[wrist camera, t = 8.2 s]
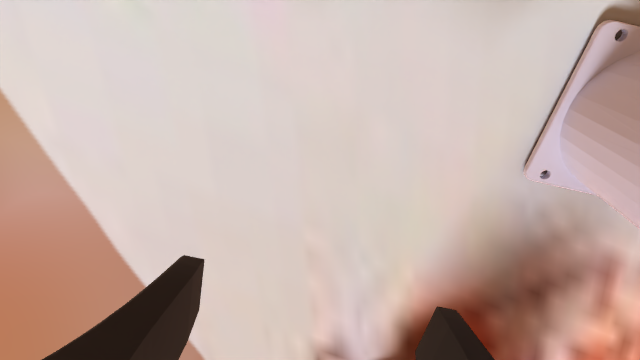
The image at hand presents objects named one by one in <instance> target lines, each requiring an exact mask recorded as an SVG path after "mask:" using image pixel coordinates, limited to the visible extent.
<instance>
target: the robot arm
mask: <svg viewBox="0 0 640 360" xmlns="http://www.w3.org/2000/svg"><path fill="white" fill-rule="evenodd" d="M619 30H622V35H621V37H620V38H619V39H618V40H615V35H616V33H617V32H618V31H619ZM545 170H547V173H546V174H545V175H543V176H540V174H541V173H542V172H543V171H545ZM523 172H524V175H525V176H526V177H527V178H528V179H529V180H531V181H535V182H539V183H544V184H548V185H552V186H557V187H561V188H566V189H570V190H574V191H579V192H583V193H588V194H592V195H596V196H599V197H600V198H601V199H603V200H604V201H605V202H606V203H608V204H609V205H610V206H611V207H613V208H614V209H615V210H616V211H618V212H619V213H620V214H621V215H623V216H624V217H625V218H626V219H628V220H629V221H630V222H631V223H633V224H634V225H635V226H636V227H638V228H639V229H640V27H639V26H635V25H631V24H627V23H624V22H620V21H615V20H606V21H604V22H602V23H601V24H599V25H598V26H597V28H596V29H595V31H594V33H593V35H592V37H591V39H590V41H589V43H588V45H587V47H586V49H585V51H584V53H583V54H582V56H581V58H580V60H579V62H578V64H577V66H576V68H575V70H574V72H573V74H572V76H571V78H570V80H569V82H568V84H567V86H566V88H565V90H564V92H563V94H562V95H561V97H560V99H559V101H558V103H557V105H556V107H555V109H554V111H553V113H552V115H551V117H550V119H549V121H548V123H547V125H546V127H545V129H544V131H543V133H542V134H541V136H540V138H539V140H538V142H537V144H536V146H535V148H534V150H533V152H532V154H531V156H530V158H529V160H528V162H527V164H526V166H525V168H524V171H523ZM203 268H204V259H200V258H195V257H190V256H185V255H184V256H182V257H180V258H179V259H178V260H177V261H176V262H175V263H174V264H173V265H171V266H170V267H169V268H168V269H167V270H166V271H165V272H164V273H162V274H161V275H160V276H159V277H158V278H157V279H156V280H154V281H153V282H152V283H151V284H150V285H149V286H147V287H146V288H145V289H144V290H143V291H141V292H140V293H139V294H137V295H136V296H135V297H134V298H132V299H131V300H130V301H129V302H127V303H126V304H125V305H124V306H122V307H121V308H119V309H118V310H117V311H115V312H114V313H113V314H111V315H110V316H109V317H107V318H106V319H105V320H103V321H102V322H101V323H99V324H97V325H96V326H95V327H93V328H92V329H90V330H89V331H87V332H86V333H84V334H83V335H81V336H80V337H78V338H77V339H75V340H73V341H72V342H70V343H69V344H67V345H66V346H64V347H62V348H61V349H59V350H57V351H56V352H54V353H53V354H51V355H49V356H47V357H45V358H44V359H42V360H178V359H179V357H180V355H181V353H182V351H183V349H184V347H185V345H186V343H187V341H188V338H189V336H190V333H191V330H192V328H193V325H194V322H195V319H196V317H197V314H198V311H199V305H200V296H201V287H202V277H203ZM415 355H416V360H494V358H493V357H492V356H491V354H490V353H489V352H488V351H487V349H486V348H485V347H484V345H483V344H482V343H481V342H480V340H479V339H478V338H477V336H476V335H475V334H474V332H473V331H472V330H471V328H470V327H469V326H468V325H467V323H466V322H465V321H464V319H463V318H462V317H461V316H460V314H459V313H458V312H457V311H456V310H452V309H447V308H442V307H437V308H436V310H435V312H434V314H433V316H432V318H431V320H430V322H429V324H428V326H427V328H426V331H425V333H424V335H423V337H422V339H421V341H420V343H419V345H418V347H417V349H416V351H415Z"/></svg>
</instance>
